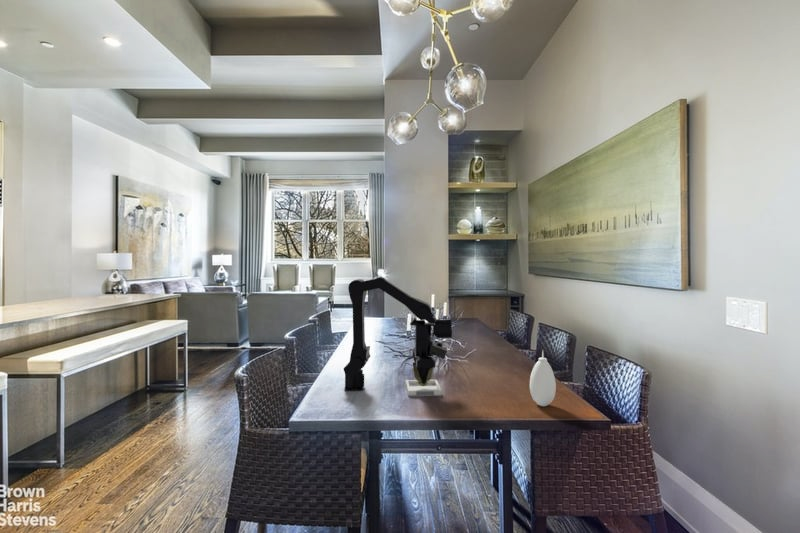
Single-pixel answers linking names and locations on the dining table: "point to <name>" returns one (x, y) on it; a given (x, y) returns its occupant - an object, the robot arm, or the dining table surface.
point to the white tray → (423, 388)
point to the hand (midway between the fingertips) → (422, 380)
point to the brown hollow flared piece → (419, 375)
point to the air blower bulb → (542, 382)
